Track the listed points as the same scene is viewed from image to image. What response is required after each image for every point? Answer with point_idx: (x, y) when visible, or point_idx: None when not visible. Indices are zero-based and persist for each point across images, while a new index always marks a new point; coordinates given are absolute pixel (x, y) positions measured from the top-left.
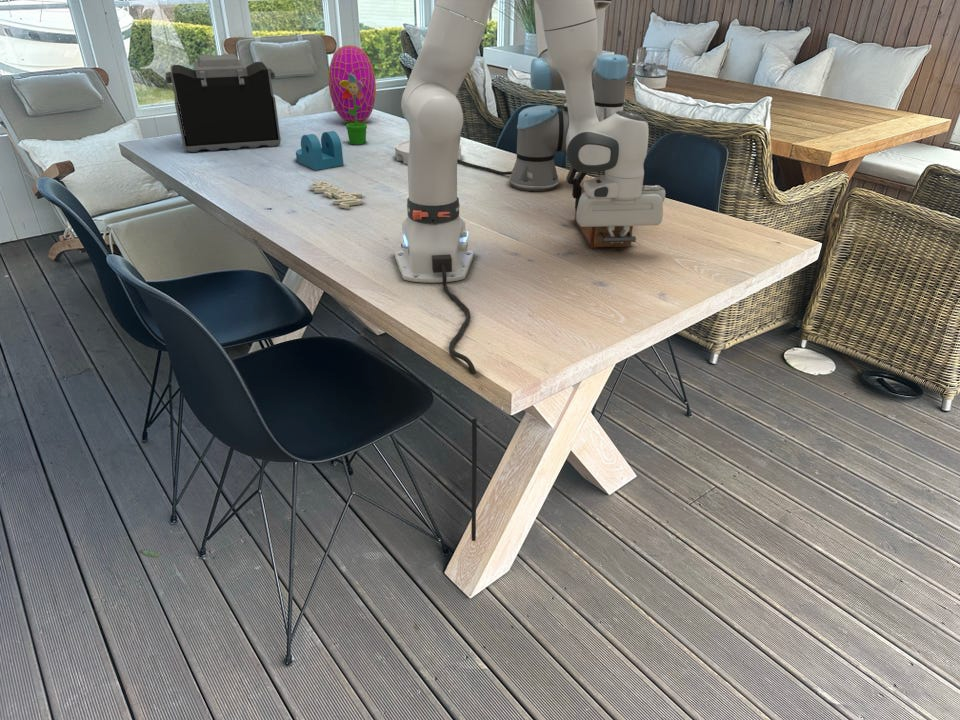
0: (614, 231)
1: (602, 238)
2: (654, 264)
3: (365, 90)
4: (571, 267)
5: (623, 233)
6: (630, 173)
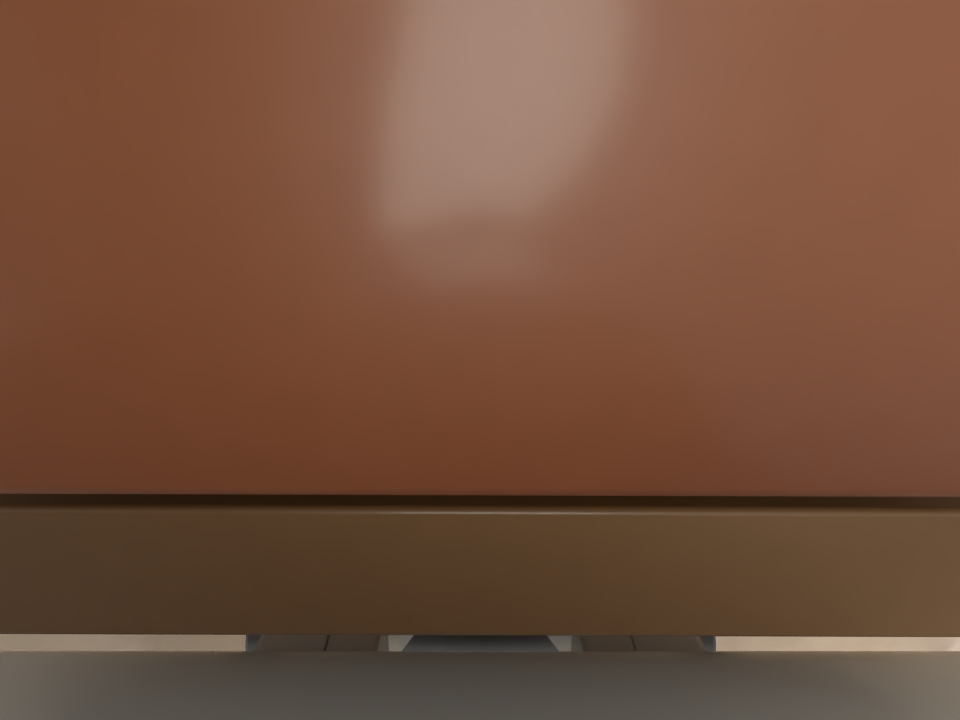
0: None
1: (251, 635)
2: (747, 636)
3: None
4: (60, 648)
5: (561, 648)
6: None
